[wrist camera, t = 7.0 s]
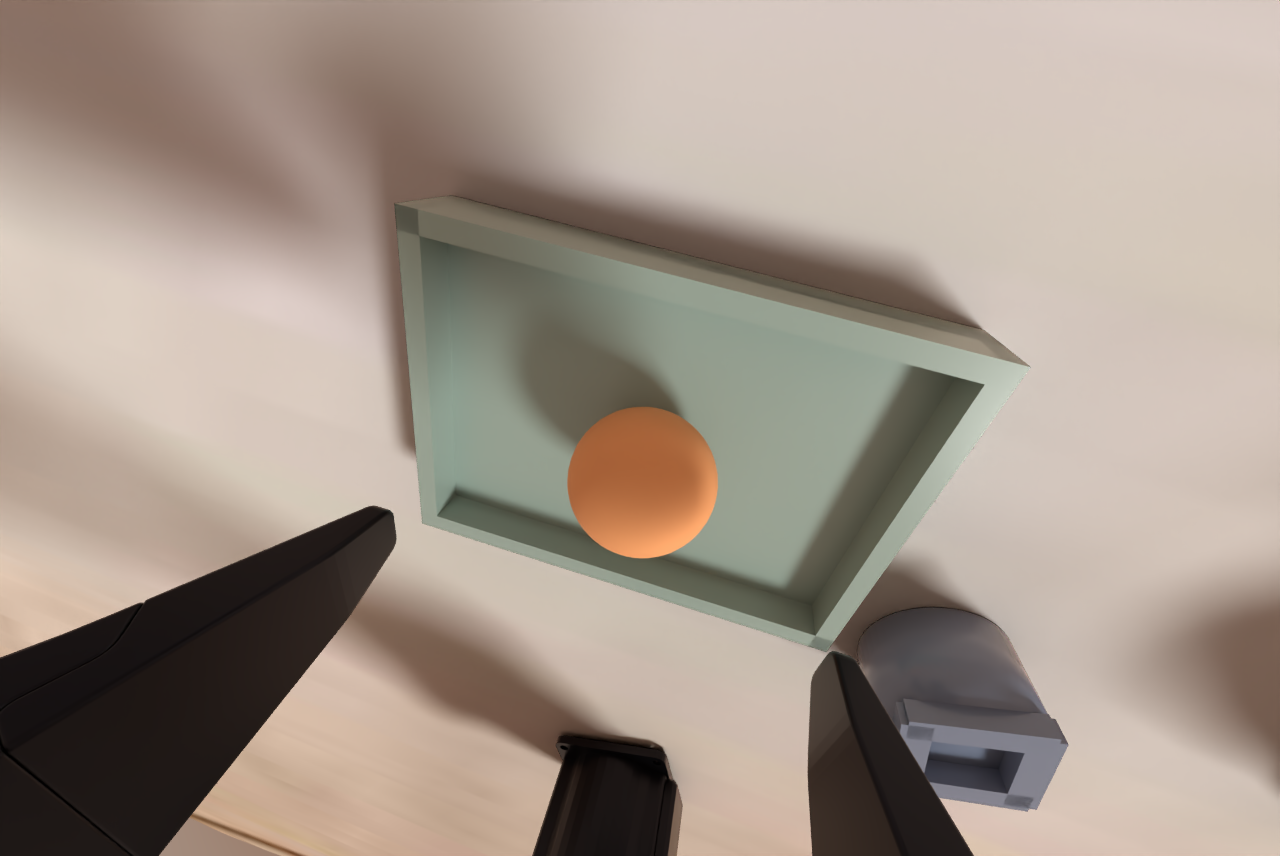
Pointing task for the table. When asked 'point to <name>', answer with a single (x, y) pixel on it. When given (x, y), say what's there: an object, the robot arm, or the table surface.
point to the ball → (642, 482)
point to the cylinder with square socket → (963, 706)
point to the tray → (682, 408)
